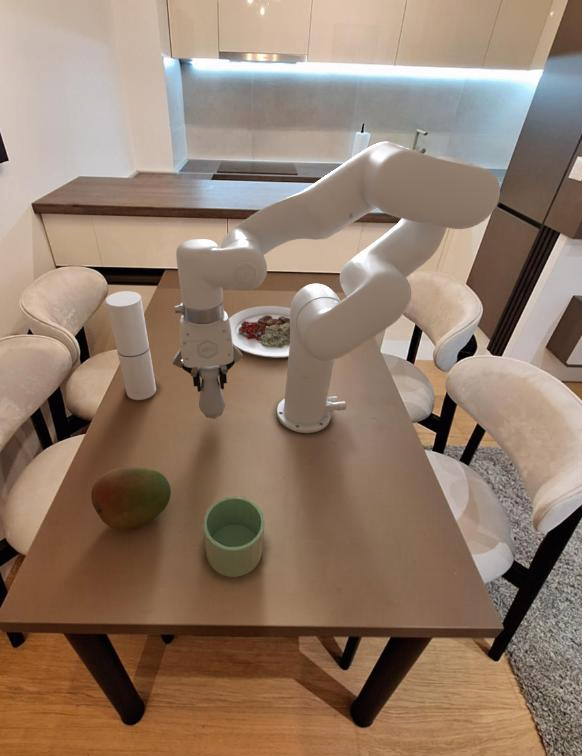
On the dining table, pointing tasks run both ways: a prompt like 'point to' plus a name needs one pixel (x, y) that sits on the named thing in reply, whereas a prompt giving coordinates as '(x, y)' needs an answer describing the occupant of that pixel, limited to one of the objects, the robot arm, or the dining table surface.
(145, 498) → the fruit
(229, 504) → the cup
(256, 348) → the plated food
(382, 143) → the robot arm
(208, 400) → the salt shaker
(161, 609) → the dining table surface
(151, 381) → the cylindrical container
